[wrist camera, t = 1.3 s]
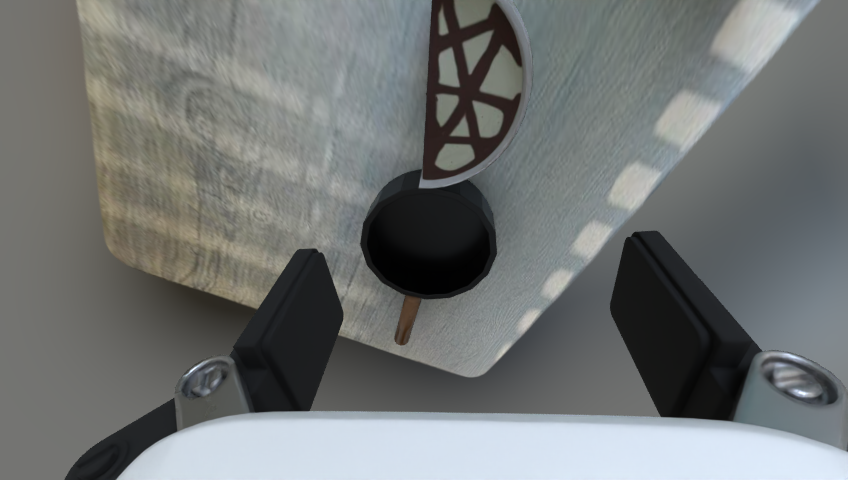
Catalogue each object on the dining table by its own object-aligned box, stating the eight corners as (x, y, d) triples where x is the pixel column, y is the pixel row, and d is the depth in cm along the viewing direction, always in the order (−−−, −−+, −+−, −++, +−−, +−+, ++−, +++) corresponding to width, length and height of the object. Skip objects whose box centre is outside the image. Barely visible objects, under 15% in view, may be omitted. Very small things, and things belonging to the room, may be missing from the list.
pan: (380, 154, 32) (370, 172, 28) (511, 187, 33) (517, 208, 29) (355, 311, 43) (346, 336, 40) (452, 332, 44) (451, 359, 41)
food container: (499, 149, 31) (514, 204, 22) (429, 144, 31) (418, 195, 23) (531, -28, 24) (569, -44, 15) (440, -34, 24) (430, -52, 16)
